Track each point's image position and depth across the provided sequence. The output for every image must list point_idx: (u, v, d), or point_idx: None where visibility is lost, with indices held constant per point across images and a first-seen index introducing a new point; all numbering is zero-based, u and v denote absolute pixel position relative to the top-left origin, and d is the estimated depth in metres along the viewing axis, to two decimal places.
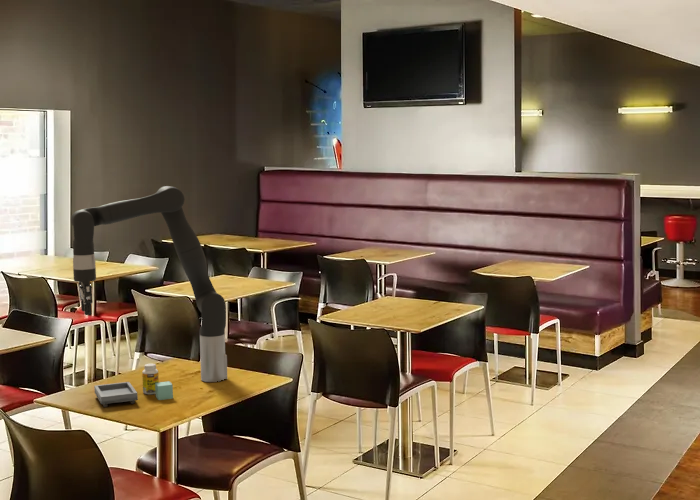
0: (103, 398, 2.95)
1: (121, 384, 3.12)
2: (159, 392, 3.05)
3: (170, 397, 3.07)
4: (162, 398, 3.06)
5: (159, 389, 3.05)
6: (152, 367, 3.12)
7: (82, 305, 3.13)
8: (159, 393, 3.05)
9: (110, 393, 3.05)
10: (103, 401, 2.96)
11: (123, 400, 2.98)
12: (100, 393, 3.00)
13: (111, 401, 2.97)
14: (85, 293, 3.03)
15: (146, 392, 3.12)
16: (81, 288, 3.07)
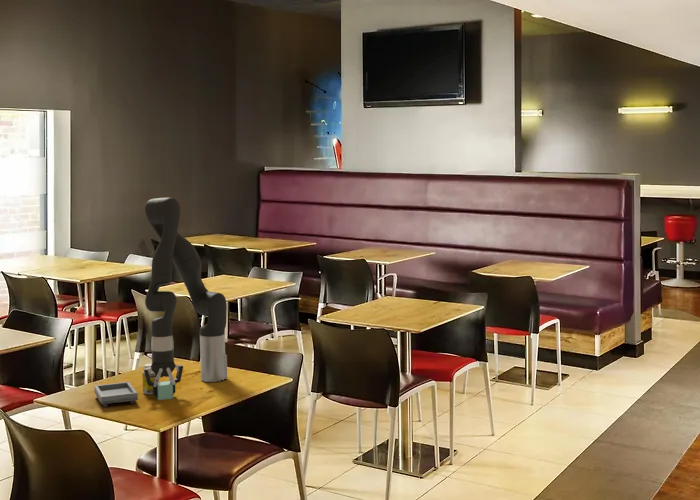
0: (103, 398, 2.95)
1: (121, 384, 3.12)
2: (159, 392, 3.05)
3: (170, 397, 3.07)
4: (162, 398, 3.06)
5: (159, 389, 3.05)
6: None
7: None
8: (159, 393, 3.05)
9: (110, 393, 3.05)
10: (103, 401, 2.96)
11: (123, 400, 2.98)
12: (100, 393, 3.00)
13: (111, 401, 2.97)
14: (181, 372, 3.09)
15: (146, 392, 3.12)
16: (169, 369, 3.07)
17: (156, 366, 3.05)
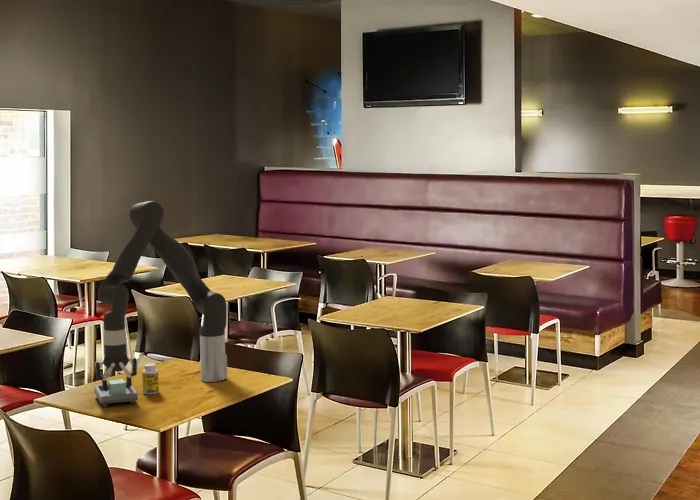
0: (103, 398, 2.95)
1: None
2: (111, 390, 2.98)
3: None
4: None
5: (111, 387, 2.98)
6: (152, 367, 3.12)
7: None
8: (111, 391, 2.98)
9: None
10: (103, 401, 2.96)
11: (123, 400, 2.98)
12: (100, 393, 3.00)
13: (111, 401, 2.97)
14: None
15: (146, 392, 3.12)
16: (122, 363, 3.00)
17: (109, 361, 2.98)
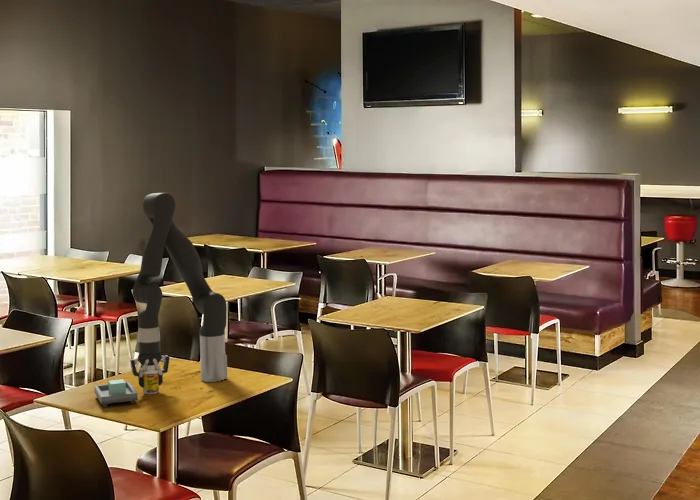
0: (103, 398, 2.95)
1: None
2: (111, 390, 2.98)
3: None
4: None
5: (111, 387, 2.98)
6: (152, 367, 3.12)
7: None
8: (111, 391, 2.98)
9: None
10: (103, 401, 2.96)
11: (123, 400, 2.98)
12: (100, 393, 3.00)
13: (111, 401, 2.97)
14: None
15: (146, 392, 3.12)
16: (156, 359, 3.13)
17: (143, 357, 3.11)
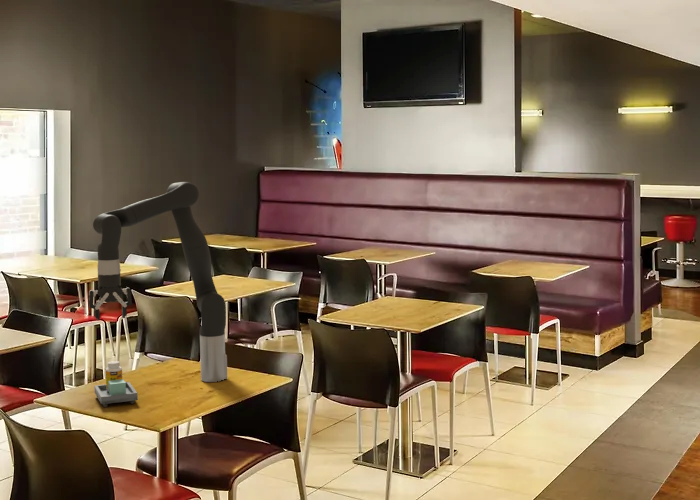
0: (103, 398, 2.95)
1: None
2: (111, 390, 2.98)
3: None
4: None
5: (111, 387, 2.98)
6: (115, 365, 3.06)
7: None
8: (111, 391, 2.98)
9: None
10: (103, 401, 2.96)
11: (123, 400, 2.98)
12: (100, 393, 3.00)
13: (111, 401, 2.97)
14: (130, 294, 3.06)
15: None
16: (116, 293, 3.04)
17: (103, 291, 3.02)
